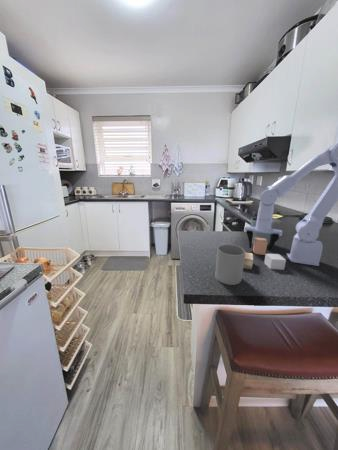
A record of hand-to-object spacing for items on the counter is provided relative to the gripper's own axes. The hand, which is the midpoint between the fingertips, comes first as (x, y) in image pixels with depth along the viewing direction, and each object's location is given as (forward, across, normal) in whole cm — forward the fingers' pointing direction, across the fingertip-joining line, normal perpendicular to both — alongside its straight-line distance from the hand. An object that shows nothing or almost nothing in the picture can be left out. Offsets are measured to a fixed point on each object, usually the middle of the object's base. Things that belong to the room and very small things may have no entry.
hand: (259, 248), depth 83 cm
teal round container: (+2, -1, -13) cm, 13 cm away
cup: (+2, +12, +27) cm, 30 cm away
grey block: (+2, -4, +12) cm, 13 cm away
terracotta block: (+2, 0, 0) cm, 2 cm away
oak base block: (+2, +7, +15) cm, 17 cm away
